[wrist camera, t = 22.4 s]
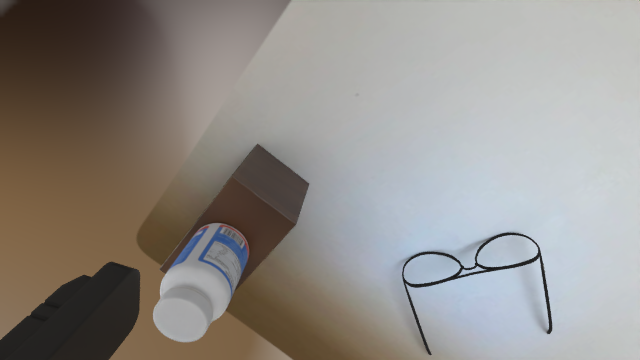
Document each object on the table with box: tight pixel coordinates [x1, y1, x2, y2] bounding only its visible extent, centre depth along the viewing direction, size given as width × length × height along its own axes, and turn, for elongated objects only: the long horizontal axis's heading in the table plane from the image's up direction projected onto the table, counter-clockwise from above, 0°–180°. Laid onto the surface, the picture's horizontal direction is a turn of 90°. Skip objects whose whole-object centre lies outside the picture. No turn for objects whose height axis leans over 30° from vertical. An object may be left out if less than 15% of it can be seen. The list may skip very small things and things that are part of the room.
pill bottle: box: [153, 223, 249, 342], centre depth 33 cm, size 6×5×10 cm
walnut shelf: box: [160, 144, 309, 290], centre depth 42 cm, size 13×7×9 cm, turn 141°
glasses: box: [402, 233, 552, 355], centre depth 46 cm, size 14×15×5 cm
